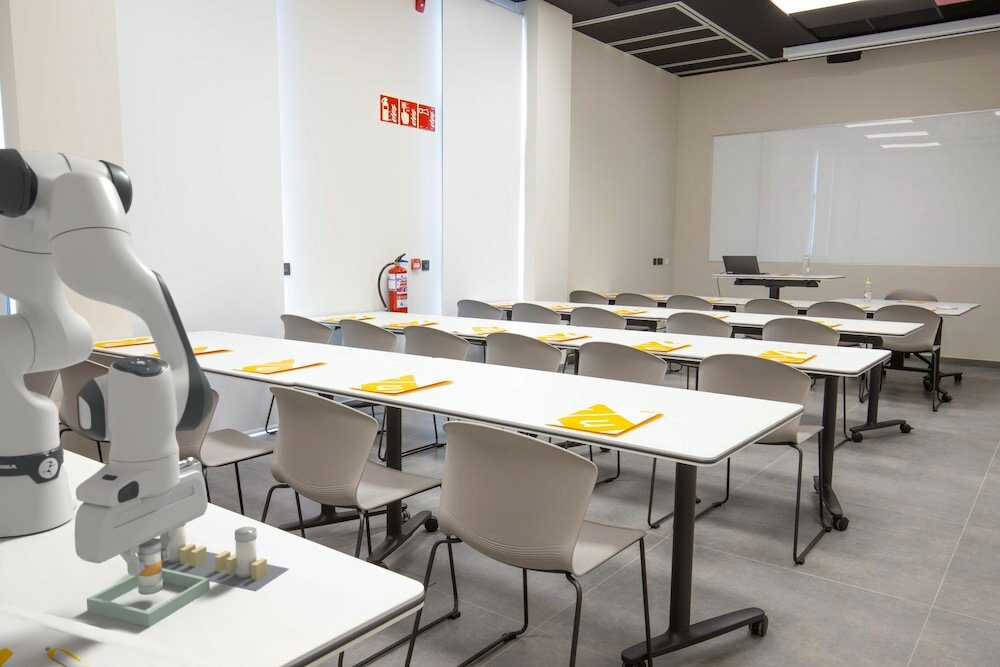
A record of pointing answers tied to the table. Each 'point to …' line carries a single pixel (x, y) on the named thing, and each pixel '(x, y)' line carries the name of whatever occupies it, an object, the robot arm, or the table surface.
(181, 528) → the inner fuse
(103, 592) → the parts tray
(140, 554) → the marked fuse
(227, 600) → the table surface
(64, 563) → the table surface
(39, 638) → the table surface
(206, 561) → the fuse holder
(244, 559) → the outer fuse
